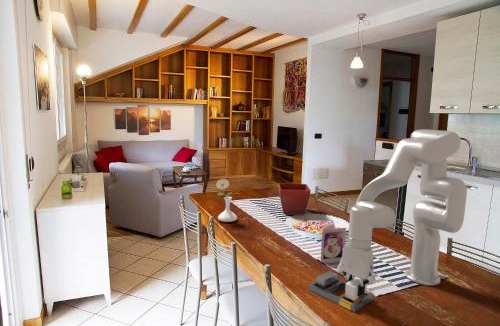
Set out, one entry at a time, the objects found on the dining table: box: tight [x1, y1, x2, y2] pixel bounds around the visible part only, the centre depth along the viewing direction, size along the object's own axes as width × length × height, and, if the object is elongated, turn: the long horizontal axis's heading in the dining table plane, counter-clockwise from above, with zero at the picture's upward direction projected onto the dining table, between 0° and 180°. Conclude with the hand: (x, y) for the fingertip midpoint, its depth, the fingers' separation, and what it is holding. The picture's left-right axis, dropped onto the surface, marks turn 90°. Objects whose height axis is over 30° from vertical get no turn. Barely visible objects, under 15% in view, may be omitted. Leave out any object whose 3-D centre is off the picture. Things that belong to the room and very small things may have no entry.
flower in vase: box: [215, 178, 238, 223], centre depth 205 cm, size 13×11×25 cm
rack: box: [308, 270, 374, 313], centre depth 125 cm, size 12×19×5 cm, turn 42°
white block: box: [344, 276, 368, 302], centre depth 121 cm, size 8×4×5 cm, turn 132°
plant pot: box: [278, 182, 311, 215], centre depth 227 cm, size 19×19×17 cm
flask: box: [335, 248, 345, 276], centre depth 143 cm, size 7×7×10 cm
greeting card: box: [320, 223, 347, 263], centre depth 155 cm, size 11×7×15 cm, turn 105°
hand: (355, 292), depth 121 cm, fingers closed on white block, 3 cm apart
